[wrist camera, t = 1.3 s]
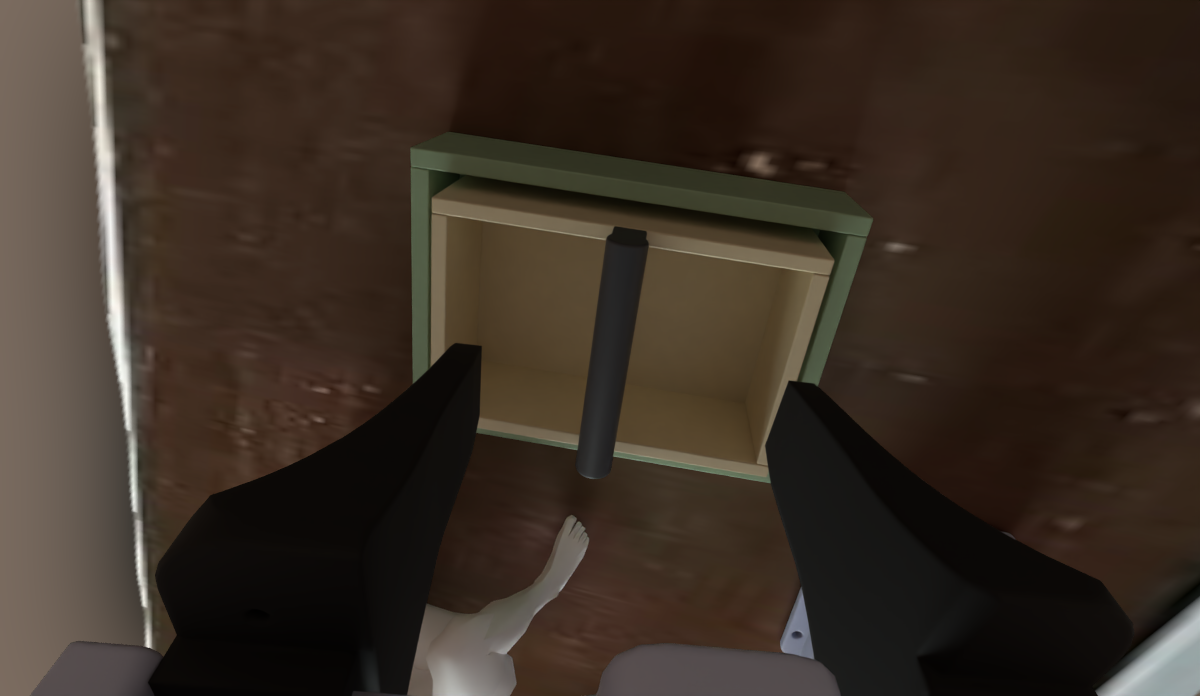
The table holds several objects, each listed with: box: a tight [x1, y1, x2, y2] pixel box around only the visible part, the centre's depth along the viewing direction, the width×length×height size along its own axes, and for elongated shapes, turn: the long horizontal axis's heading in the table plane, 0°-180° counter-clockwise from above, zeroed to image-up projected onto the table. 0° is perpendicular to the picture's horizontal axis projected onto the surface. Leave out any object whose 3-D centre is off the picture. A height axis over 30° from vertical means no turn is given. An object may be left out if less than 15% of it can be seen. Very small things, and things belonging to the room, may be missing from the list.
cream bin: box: [431, 175, 834, 479], centre depth 21 cm, size 8×12×6 cm, turn 82°
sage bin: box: [411, 132, 873, 483], centre depth 23 cm, size 10×14×4 cm
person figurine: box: [407, 515, 589, 696], centre depth 29 cm, size 13×13×18 cm
